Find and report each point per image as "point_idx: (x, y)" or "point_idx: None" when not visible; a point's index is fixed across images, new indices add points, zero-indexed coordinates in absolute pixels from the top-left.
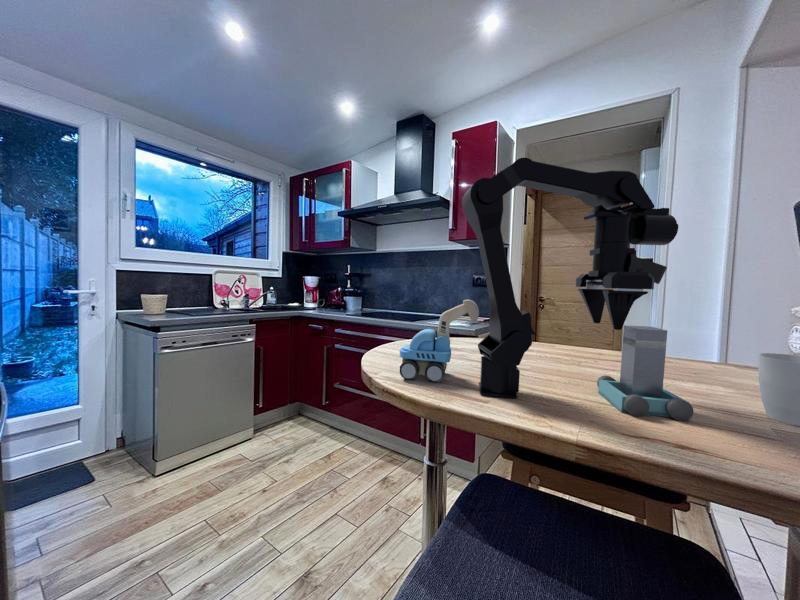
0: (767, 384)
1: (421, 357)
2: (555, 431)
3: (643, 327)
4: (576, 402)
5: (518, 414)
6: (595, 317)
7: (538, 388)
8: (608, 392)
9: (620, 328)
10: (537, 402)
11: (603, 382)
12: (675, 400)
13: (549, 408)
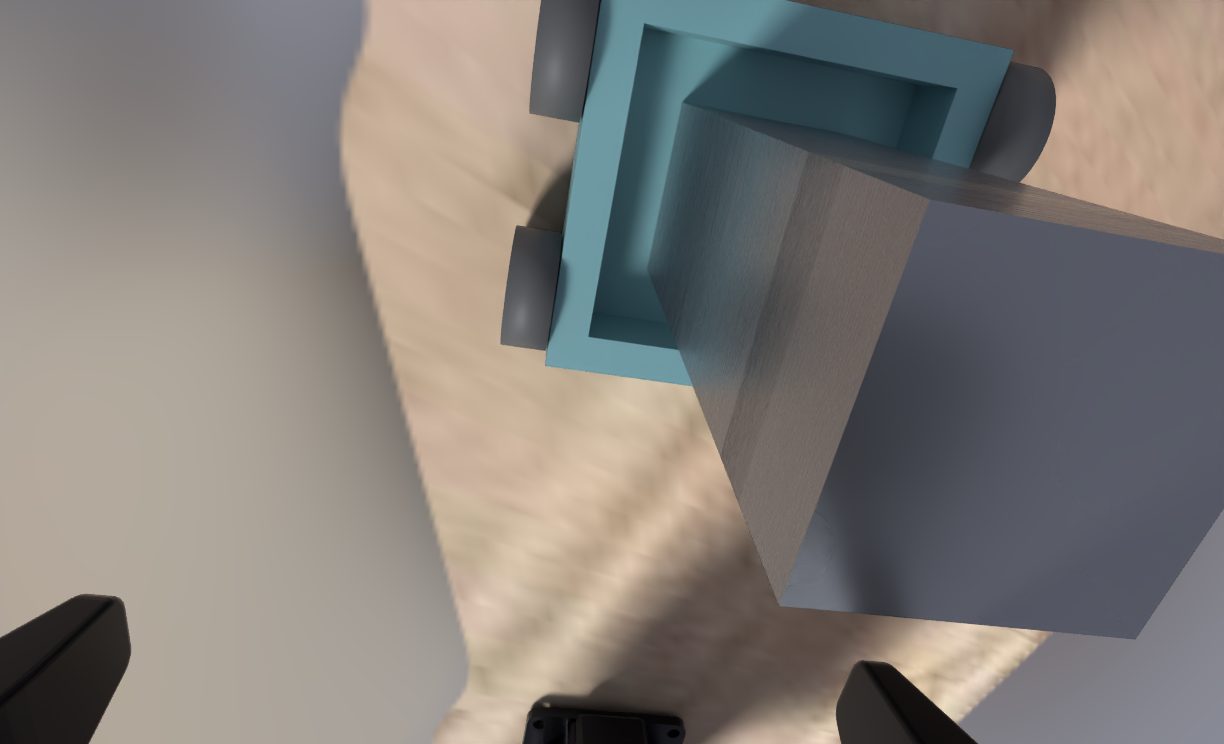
0: None
1: None
2: (972, 675)
3: (1015, 450)
4: (710, 510)
5: (832, 736)
6: (65, 738)
7: (517, 602)
8: None
9: (897, 683)
10: (715, 656)
11: (610, 370)
12: (1016, 170)
13: (781, 635)
